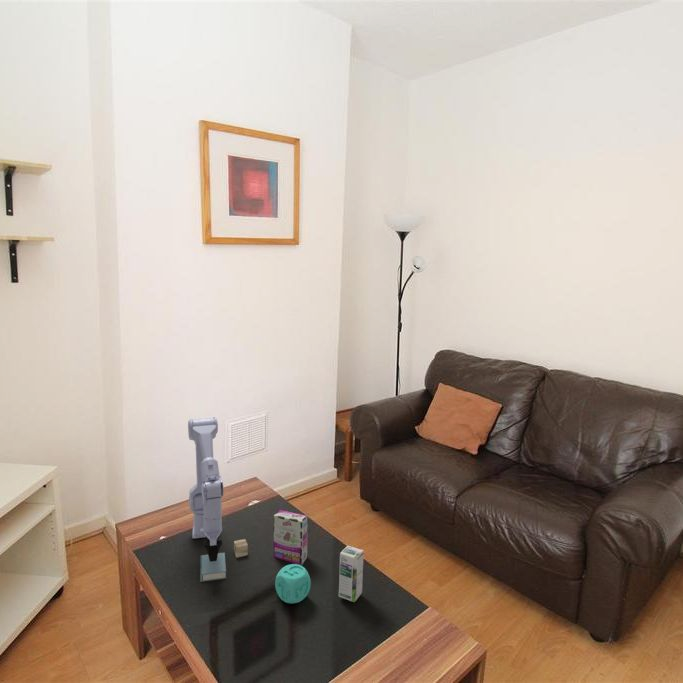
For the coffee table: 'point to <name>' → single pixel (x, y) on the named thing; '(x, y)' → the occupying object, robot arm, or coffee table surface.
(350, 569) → the syrup box
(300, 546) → the candy bar box
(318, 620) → the coffee table surface
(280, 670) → the coffee table surface
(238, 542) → the beech block
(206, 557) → the book
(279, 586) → the decorative dice
